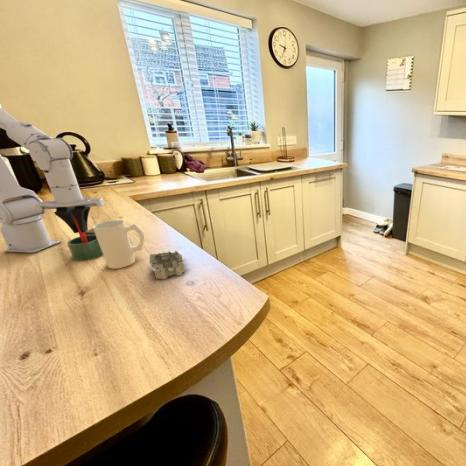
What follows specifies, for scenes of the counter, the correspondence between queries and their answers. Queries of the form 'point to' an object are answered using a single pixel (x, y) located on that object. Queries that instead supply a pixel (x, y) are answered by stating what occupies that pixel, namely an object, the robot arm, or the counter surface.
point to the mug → (117, 242)
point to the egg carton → (166, 264)
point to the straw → (82, 235)
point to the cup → (85, 248)
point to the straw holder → (90, 232)
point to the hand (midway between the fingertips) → (81, 231)
